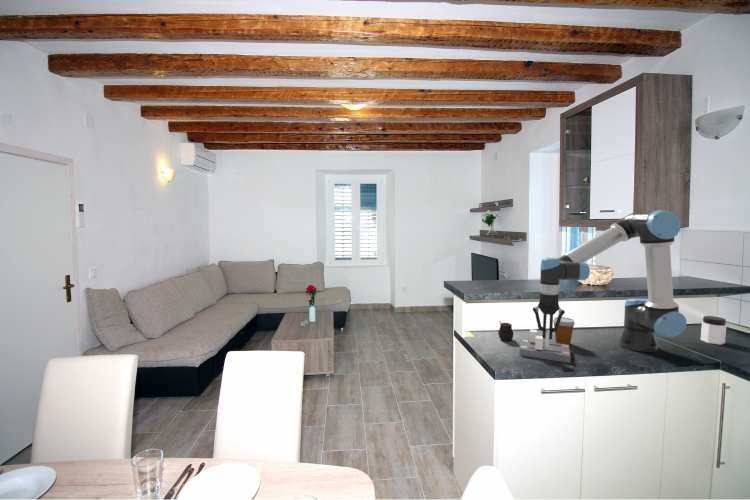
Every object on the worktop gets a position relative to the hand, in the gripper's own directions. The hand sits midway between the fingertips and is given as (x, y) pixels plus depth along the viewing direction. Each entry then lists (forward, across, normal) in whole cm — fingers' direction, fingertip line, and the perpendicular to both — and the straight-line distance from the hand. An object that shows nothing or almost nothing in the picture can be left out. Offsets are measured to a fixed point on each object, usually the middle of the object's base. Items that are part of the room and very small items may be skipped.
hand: (546, 345), depth 160 cm
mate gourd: (+5, -19, +17) cm, 26 cm away
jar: (+5, +74, +56) cm, 94 cm away
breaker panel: (+5, -1, +5) cm, 7 cm away
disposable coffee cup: (+5, +7, +23) cm, 24 cm away
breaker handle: (+2, -6, +9) cm, 11 cm away
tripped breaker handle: (+2, -3, 0) cm, 4 cm away
